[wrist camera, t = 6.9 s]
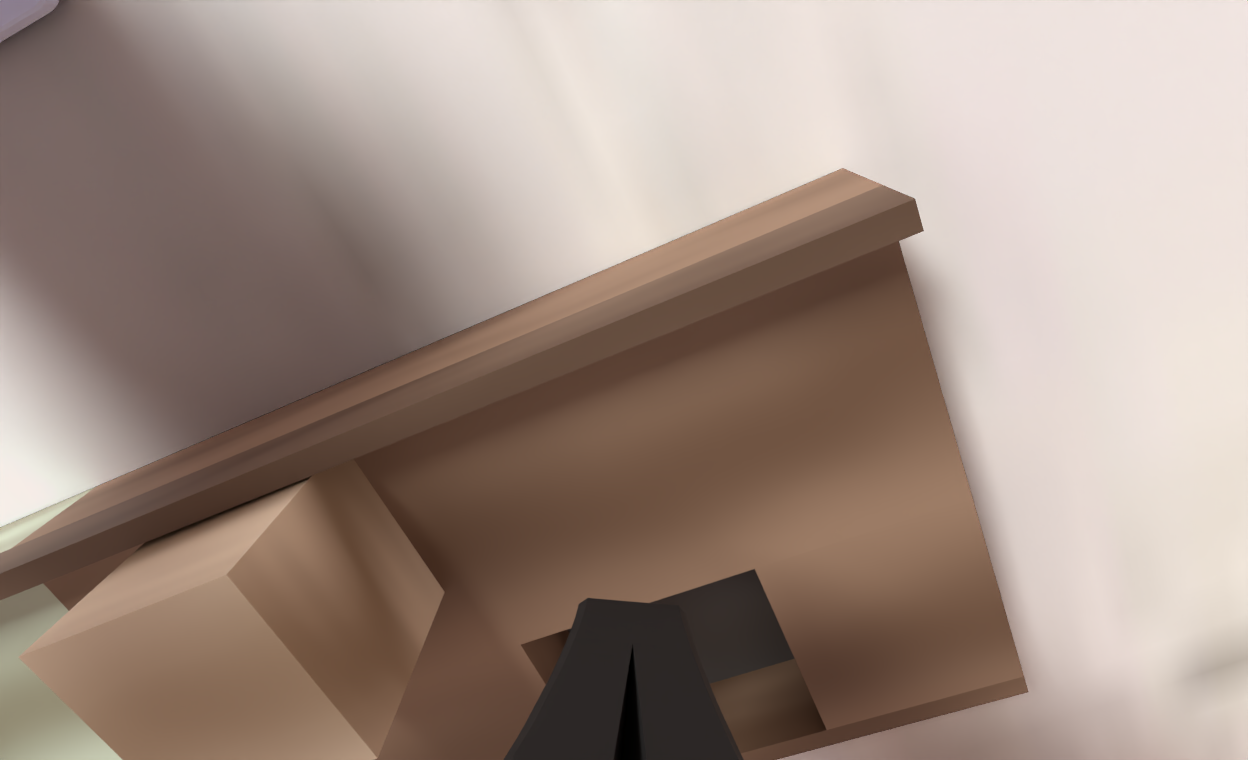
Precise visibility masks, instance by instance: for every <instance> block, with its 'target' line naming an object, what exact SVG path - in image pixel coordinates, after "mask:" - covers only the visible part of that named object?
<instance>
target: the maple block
mask: <svg viewBox="0 0 1248 760" xmlns="http://www.w3.org/2000/svg"><path fill="white" fill-rule="evenodd" d="M444 593H445V592H444V590H443V589H442V587H441V586H440V584H439V583H438V582H437V580H436V579H435V577H434V576H433V574H432V573H431V571H430V570H429V568H428V567H427V565H426V564H425V563H424V561H423V560H422V558H421V557H420V555H419V554H418V552H417V551H416V549H415V548H414V546H413V545H412V544H411V542H410V541H409V539H408V538H407V536H406V535H405V533H404V532H403V530H402V529H401V527H400V526H399V525H398V523H397V522H396V520H395V519H394V517H393V516H392V514H391V513H390V511H389V510H388V508H387V507H386V506H385V504H384V503H383V501H382V500H381V498H380V497H379V495H378V494H377V492H376V491H375V490H374V488H373V487H372V485H371V484H370V482H369V481H368V479H367V478H366V476H365V475H364V473H363V472H362V471H361V469H360V468H359V466H358V465H357V463H356V462H355V460H354V459H352V460H350V461H347V462H345V463H342V464H340V465H337V466H335V467H332V468H330V469H327V470H325V471H322V472H320V473H317V474H315V475H312V476H310V477H307V478H305V479H302V480H300V481H297V482H295V483H292V484H290V485H287V486H285V487H282V488H280V489H277V490H275V491H272V492H270V493H267V494H265V495H262V496H260V497H257V498H255V499H252V500H250V501H247V502H245V503H242V504H240V505H237V506H235V507H232V508H230V509H227V510H225V511H222V512H220V513H218V514H215V515H213V516H210V517H208V518H205V519H203V520H200V521H198V522H195V523H193V524H190V525H188V526H185V527H183V528H180V529H178V530H175V531H173V532H170V533H168V534H165V535H163V536H160V537H158V538H155V539H153V540H150V541H148V542H145V543H144V544H143V545H141V546H140V547H139V548H138V549H137V550H136V551H135V552H134V553H133V554H131V555H130V556H129V557H128V558H127V559H126V560H125V561H124V562H123V563H122V564H120V565H119V566H118V567H117V568H116V569H115V570H114V571H113V572H112V573H110V574H109V575H108V576H107V577H106V578H105V579H104V580H103V581H102V582H101V583H99V584H98V585H97V586H96V587H95V588H94V589H93V590H92V591H91V592H89V593H88V594H87V595H86V596H85V597H84V598H83V599H82V600H81V601H80V602H78V603H77V604H76V605H75V606H74V607H73V608H72V609H71V610H70V611H68V612H67V613H66V614H65V615H64V616H63V617H62V618H61V619H60V620H59V621H57V622H56V623H55V624H54V625H53V626H52V627H51V628H50V629H49V630H47V631H46V632H45V633H44V634H43V635H42V636H41V637H40V638H39V639H38V640H36V641H35V642H34V643H33V644H32V645H31V646H30V647H29V648H28V649H26V650H25V651H24V652H23V653H22V654H21V655H20V656H19V658H20V659H21V660H22V661H23V662H24V663H25V664H26V665H27V666H28V667H29V668H30V669H31V670H32V671H33V672H34V673H35V674H36V675H37V676H38V677H39V678H40V679H41V680H42V681H43V682H44V683H45V684H46V685H47V686H48V687H49V688H50V689H51V690H52V691H53V692H54V693H55V694H56V695H57V696H58V697H59V698H60V699H61V700H62V701H63V702H64V703H65V704H66V705H67V706H68V707H69V708H70V709H71V710H73V711H74V712H75V713H76V714H77V715H78V716H79V717H80V718H81V719H82V720H83V721H84V722H85V723H86V724H87V725H88V726H89V727H90V728H91V729H92V730H93V731H94V732H95V733H96V734H97V735H98V736H99V737H100V738H101V739H102V740H103V741H104V742H105V743H106V744H107V745H108V746H109V747H110V748H111V749H112V750H113V751H114V752H115V753H116V754H117V755H118V756H119V757H120V758H121V759H122V760H374V759H377V758H378V756H379V754H380V751H381V749H382V746H383V744H384V741H385V739H386V736H387V734H388V731H389V729H390V726H391V724H392V721H393V719H394V716H395V714H396V712H397V709H398V707H399V704H400V702H401V699H402V697H403V694H404V692H405V689H406V687H407V684H408V682H409V679H410V677H411V674H412V672H413V669H414V667H415V664H416V662H417V660H418V657H419V655H420V652H421V650H422V647H423V645H424V642H425V640H426V637H427V635H428V632H429V630H430V627H431V625H432V622H433V620H434V617H435V615H436V612H437V610H438V607H439V605H440V603H441V600H442V598H443V595H444Z"/></svg>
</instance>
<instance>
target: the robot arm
mask: <svg viewBox="0 0 1248 760" xmlns="http://www.w3.org/2000/svg"><path fill="white" fill-rule="evenodd" d="M58 3H59V0H0V42H2V41H3V40H5V39H7V38H8V37H10V36H12V35H13V34H15V33H17V32H18V31H20V30H22V29H23V28H25V27H27V26H28V25H30V24H32V23H33V22H35V21H37V20H38V19H40V18H42V17H43V16H45V15H47V14H48V13H50V12H52V11H53V10H54V8H55V7H56V6H57V5H58ZM504 760H744V759H743V757H742V755H741V753H740V751H739V749H738V746H737V744H736V742H735V740H734V738H733V736H732V733H731V731H730V729H729V727H728V725H727V723H726V721H725V718H724V716H723V714H722V712H721V710H720V707H719V705H718V703H717V700H716V698H715V696H714V693H713V691H712V688H711V686H710V683H709V681H708V678H707V676H706V673H705V671H704V668H703V666H702V663H701V660H700V658H699V655H698V652H697V649H696V646H695V643H694V641H693V637H692V634H691V631H690V628H689V624H688V620H687V616H686V613H685V612H684V611H683V610H682V609H681V608H680V606H678V605H666V604H654V603H643V602H631V601H619V600H607V599H595V598H587V599H585V600H584V601H582V602H581V603H579V605H578V609H577V613H576V616H575V619H574V622H573V625H572V628H571V631H570V633H569V636H568V638H567V641H566V643H565V645H564V648H563V650H562V652H561V655H560V657H559V659H558V661H557V663H556V665H555V667H554V669H553V672H552V674H551V676H550V678H549V680H548V682H547V684H546V685H545V687H544V689H543V691H542V693H541V695H540V697H539V699H538V700H537V702H536V704H535V706H534V708H533V710H532V712H531V713H530V715H529V717H528V719H527V721H526V723H525V725H524V726H523V728H522V730H521V732H520V733H519V735H518V737H517V739H516V740H515V742H514V743H513V745H512V747H511V748H510V750H509V752H508V753H507V755H506V756H505V758H504Z"/></svg>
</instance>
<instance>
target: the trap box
mask: <svg viewBox="0 0 1248 760" xmlns="http://www.w3.org/2000/svg"><path fill="white" fill-rule="evenodd" d="M922 231H924V230H923V227H922V223H921V219H920V216H919V212H918V208H917V205H916V201H915V199H914V198H912V197H910V196H907V195H905V194H902V193H900V192H898V191H895V190H893V189H891V188H888V187H886V186H884V185H881V184H879V183H876V182H874V181H872V180H869V179H867V178H865V177H862V176H860V175H858V174H855V173H853V172H850V171H848V170H846V169H843V168H842V169H840V170H838V171H835V172H833V173H831V174H828V175H826V176H824V177H821V178H819V179H816V180H814V181H812V182H809V183H807V184H805V185H802V186H800V187H798V188H795V189H793V190H791V191H788V192H786V193H784V194H781V195H779V196H777V197H774V198H772V199H770V200H767V201H765V202H763V203H760V204H758V205H756V206H753V207H751V208H748V209H746V210H744V211H741V212H739V213H737V214H734V215H732V216H730V217H727V218H725V219H723V220H720V221H718V222H716V223H713V224H711V225H709V226H706V227H704V228H702V229H699V230H697V231H695V232H692V233H690V234H688V235H685V236H683V237H680V238H678V239H676V240H673V241H671V242H669V243H666V244H664V245H662V246H659V247H657V248H655V249H652V250H650V251H648V252H645V253H643V254H641V255H638V256H636V257H634V258H631V259H629V260H627V261H624V262H622V263H620V264H617V265H615V266H612V267H610V268H608V269H605V270H603V271H601V272H598V273H596V274H594V275H591V276H589V277H587V278H584V279H582V280H580V281H577V282H575V283H573V284H570V285H568V286H566V287H563V288H561V289H559V290H556V291H554V292H552V293H549V294H547V295H544V296H542V297H540V298H537V299H535V300H533V301H530V302H528V303H526V304H523V305H521V306H519V307H516V308H514V309H512V310H509V311H507V312H505V313H502V314H500V315H498V316H495V317H493V318H491V319H488V320H486V321H483V322H481V323H479V324H476V325H474V326H472V327H469V328H467V329H465V330H462V331H460V332H458V333H455V334H453V335H451V336H448V337H446V338H444V339H441V340H439V341H437V342H434V343H432V344H430V345H427V346H425V347H423V348H420V349H418V350H415V351H413V352H411V353H408V354H406V355H404V356H401V357H399V358H397V359H394V360H392V361H390V362H387V363H385V364H383V365H380V366H378V367H376V368H373V369H371V370H369V371H366V372H364V373H362V374H359V375H357V376H355V377H352V378H350V379H347V380H345V381H343V382H340V383H338V384H336V385H333V386H331V387H329V388H326V389H324V390H322V391H319V392H317V393H315V394H312V395H310V396H308V397H305V398H303V399H301V400H298V401H296V402H294V403H291V404H289V405H287V406H284V407H282V408H279V409H277V410H275V411H272V412H270V413H268V414H265V415H263V416H261V417H258V418H256V419H254V420H251V421H249V422H247V423H244V424H242V425H240V426H237V427H235V428H233V429H230V430H228V431H226V432H223V433H221V434H218V435H216V436H214V437H211V438H209V439H207V440H204V441H202V442H200V443H197V444H195V445H193V446H190V447H188V448H186V449H183V450H181V451H179V452H176V453H174V454H172V455H169V456H167V457H165V458H162V459H160V460H158V461H155V462H153V463H150V464H148V465H146V466H143V467H141V468H139V469H136V470H134V471H132V472H129V473H127V474H125V475H122V476H120V477H118V478H115V479H113V480H111V481H108V482H106V483H104V484H101V485H99V486H97V487H94V488H92V489H90V490H87V491H85V492H82V493H80V494H78V495H75V496H73V497H71V498H68V499H66V500H64V501H61V502H59V503H57V504H54V505H52V506H50V507H47V508H45V509H43V510H40V511H38V512H36V513H33V514H31V515H29V516H26V517H24V518H22V519H19V520H17V521H14V522H12V523H10V524H7V525H5V526H3V527H0V760H122V759H121V758H120V757H119V756H118V755H117V754H116V753H115V752H114V751H113V750H112V749H111V748H110V747H109V746H108V745H107V744H106V743H105V742H104V741H103V740H102V739H101V738H100V737H99V736H98V735H97V734H96V733H95V732H94V731H93V730H92V729H91V728H90V727H89V726H88V725H87V724H86V723H85V722H84V721H83V720H82V719H81V718H80V717H79V716H78V715H77V714H76V713H75V712H74V711H73V710H71V709H70V708H69V707H68V706H67V705H66V704H65V703H64V702H63V701H62V700H61V699H60V698H59V697H58V696H57V695H56V694H55V693H54V692H53V691H52V690H51V689H50V688H49V687H48V686H47V685H46V684H45V683H44V682H43V681H42V680H41V679H40V678H39V677H38V676H37V675H36V674H35V673H34V672H33V671H32V670H31V669H30V668H29V667H28V666H27V665H26V664H25V663H24V662H23V661H22V660H21V659H20V658H19V656H20V655H21V654H22V653H23V652H24V651H25V650H26V649H28V648H29V647H30V646H31V645H32V644H33V643H34V642H35V641H36V640H38V639H39V638H40V637H41V636H42V635H43V634H44V633H45V632H46V631H47V630H49V629H50V628H51V627H52V626H53V625H54V624H55V623H56V622H57V621H59V620H60V619H61V618H62V617H63V616H64V615H65V614H66V613H67V612H68V611H70V610H71V609H72V608H73V607H74V606H75V605H76V604H77V603H78V602H80V601H81V600H82V599H83V598H84V597H85V596H86V595H87V594H88V593H89V592H91V591H92V590H93V589H94V588H95V587H96V586H97V585H98V584H99V583H101V582H102V581H103V580H104V579H105V578H106V577H107V576H108V575H109V574H110V573H112V572H113V571H114V570H115V569H116V568H117V567H118V566H119V565H120V564H122V563H123V562H124V561H125V560H126V559H127V558H128V557H129V556H130V555H131V554H133V553H134V552H135V551H136V550H137V549H138V548H139V547H140V546H141V545H143V544H144V543H145V542H148V541H150V540H153V539H155V538H158V537H160V536H163V535H165V534H168V533H170V532H173V531H175V530H178V529H180V528H183V527H185V526H188V525H190V524H193V523H195V522H198V521H200V520H203V519H205V518H208V517H210V516H213V515H215V514H218V513H220V512H222V511H225V510H227V509H230V508H232V507H235V506H237V505H240V504H242V503H245V502H247V501H250V500H252V499H255V498H257V497H260V496H262V495H265V494H267V493H270V492H272V491H275V490H277V489H280V488H282V487H285V486H287V485H290V484H292V483H295V482H297V481H300V480H302V479H305V478H307V477H310V476H312V475H315V474H317V473H320V472H322V471H325V470H327V469H330V468H332V467H335V466H337V465H340V464H342V463H345V462H347V461H350V460H352V459H354V460H355V462H356V463H357V465H358V466H359V468H360V469H361V471H362V472H363V473H364V475H365V476H366V478H367V479H368V481H369V482H370V484H371V485H372V487H373V488H374V490H375V491H376V492H377V494H378V495H379V497H380V498H381V500H382V501H383V503H384V504H385V506H386V507H387V508H388V510H389V511H390V513H391V514H392V516H393V517H394V519H395V520H396V522H397V523H398V525H399V526H400V527H401V529H402V530H403V532H404V533H405V535H406V536H407V538H408V539H409V541H410V542H411V544H412V545H413V546H414V548H415V549H416V551H417V552H418V554H419V555H420V557H421V558H422V560H423V561H424V563H425V564H426V565H427V567H428V568H429V570H430V571H431V573H432V574H433V576H434V577H435V579H436V580H437V582H438V583H439V584H440V586H441V587H442V589H443V590H444V592H445V593H444V595H443V598H442V600H441V603H440V605H439V607H438V610H437V612H436V615H435V617H434V620H433V622H432V625H431V627H430V630H429V632H428V635H427V637H426V640H425V642H424V645H423V647H422V650H421V652H420V655H419V657H418V660H417V662H416V664H415V667H414V669H413V672H412V674H411V677H410V679H409V682H408V684H407V687H406V689H405V692H404V694H403V697H402V699H401V702H400V704H399V707H398V709H397V712H396V714H395V716H394V719H393V721H392V724H391V726H390V729H389V731H388V734H387V736H386V739H385V741H384V744H383V746H382V749H381V751H380V754H379V756H378V758H377V759H374V760H504V758H505V756H506V755H507V753H508V752H509V750H510V748H511V747H512V745H513V743H514V742H515V740H516V739H517V737H518V735H519V733H520V732H521V730H522V728H523V726H524V725H525V723H526V721H527V719H528V717H529V715H530V713H531V712H532V710H533V708H534V706H535V704H536V702H537V700H538V699H539V697H540V695H541V693H542V691H543V689H544V687H545V685H546V684H547V682H548V680H549V678H550V676H551V674H552V672H553V669H554V667H555V665H556V663H557V661H558V659H559V657H560V655H561V652H562V650H563V648H564V645H565V643H566V641H567V638H568V636H569V633H570V631H571V628H572V625H573V622H574V619H575V616H576V613H577V609H578V605H579V603H581V602H582V601H584V600H585V599H587V598H595V599H607V600H619V601H631V602H643V603H654V604H666V605H678V606H680V608H681V609H682V610H683V611H684V612H685V613H686V616H687V620H688V624H689V628H690V631H691V634H692V637H693V641H694V643H695V646H696V649H697V652H698V655H699V658H700V660H701V663H702V666H703V668H704V671H705V673H706V676H707V678H708V681H709V683H710V686H711V688H712V691H713V693H714V696H715V698H716V700H717V703H718V705H719V707H720V710H721V712H722V714H723V716H724V718H725V721H726V723H727V725H728V727H729V729H730V731H731V733H732V736H733V738H734V740H735V742H736V744H737V746H738V749H739V751H740V753H741V755H742V757H743V759H744V760H777V759H780V758H784V757H788V756H792V755H795V754H799V753H803V752H806V751H810V750H814V749H818V748H821V747H825V746H829V745H833V744H836V743H840V742H844V741H848V740H851V739H855V738H859V737H862V736H866V735H870V734H874V733H877V732H881V731H885V730H889V729H892V728H896V727H900V726H904V725H907V724H911V723H915V722H918V721H922V720H926V719H930V718H933V717H937V716H941V715H945V714H948V713H952V712H956V711H960V710H963V709H967V708H971V707H974V706H978V705H982V704H986V703H989V702H993V701H997V700H1001V699H1004V698H1008V697H1012V696H1015V695H1019V694H1023V693H1027V692H1028V689H1027V685H1026V682H1025V678H1024V675H1023V671H1022V668H1021V665H1020V661H1019V658H1018V654H1017V651H1016V647H1015V644H1014V640H1013V637H1012V633H1011V630H1010V626H1009V623H1008V619H1007V616H1006V612H1005V609H1004V605H1003V602H1002V599H1001V595H1000V592H999V588H998V585H997V581H996V578H995V574H994V571H993V567H992V564H991V560H990V557H989V553H988V550H987V546H986V543H985V540H984V536H983V533H982V529H981V526H980V522H979V519H978V515H977V512H976V508H975V505H974V501H973V498H972V494H971V491H970V487H969V484H968V481H967V477H966V474H965V470H964V467H963V463H962V460H961V456H960V453H959V449H958V446H957V442H956V439H955V435H954V432H953V428H952V425H951V422H950V418H949V415H948V411H947V408H946V404H945V401H944V397H943V394H942V390H941V387H940V383H939V380H938V376H937V373H936V369H935V366H934V362H933V359H932V356H931V352H930V349H929V345H928V342H927V338H926V335H925V331H924V328H923V324H922V321H921V317H920V314H919V310H918V307H917V303H916V300H915V297H914V293H913V290H912V286H911V283H910V279H909V276H908V272H907V269H906V265H905V262H904V258H903V255H902V251H901V248H900V244H899V241H900V240H902V239H905V238H907V237H910V236H912V235H915V234H917V233H920V232H922Z"/></svg>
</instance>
